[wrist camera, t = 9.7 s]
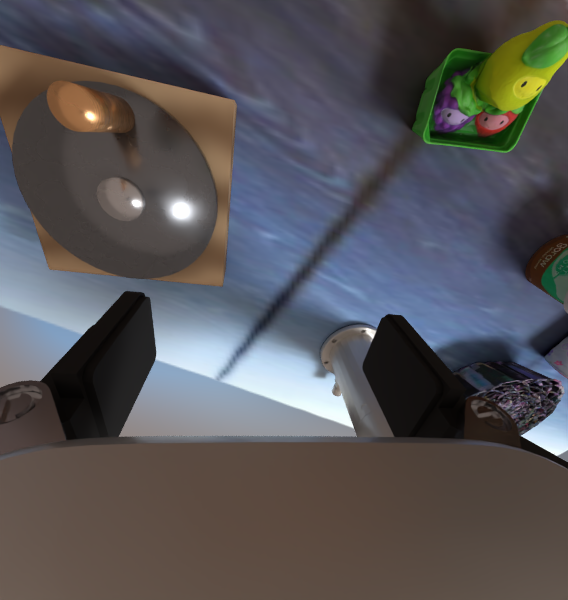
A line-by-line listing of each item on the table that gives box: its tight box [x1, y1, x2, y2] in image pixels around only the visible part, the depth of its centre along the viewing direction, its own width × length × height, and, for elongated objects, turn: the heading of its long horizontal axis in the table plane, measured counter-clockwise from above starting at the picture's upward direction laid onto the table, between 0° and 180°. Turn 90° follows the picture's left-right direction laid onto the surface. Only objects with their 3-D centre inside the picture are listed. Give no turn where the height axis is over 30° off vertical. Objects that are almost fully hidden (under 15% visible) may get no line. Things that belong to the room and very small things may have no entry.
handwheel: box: [12, 80, 218, 279], centre depth 23 cm, size 18×18×9 cm
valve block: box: [0, 45, 237, 287], centre depth 29 cm, size 20×20×5 cm
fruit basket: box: [412, 21, 568, 152], centre depth 26 cm, size 11×9×11 cm
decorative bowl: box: [453, 361, 564, 436], centre depth 59 cm, size 26×28×10 cm
